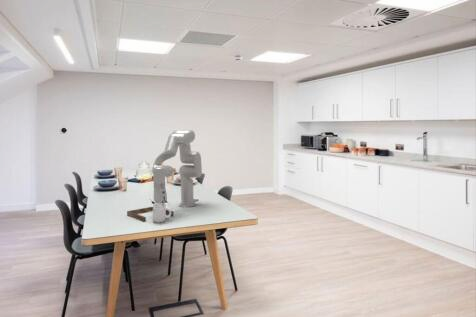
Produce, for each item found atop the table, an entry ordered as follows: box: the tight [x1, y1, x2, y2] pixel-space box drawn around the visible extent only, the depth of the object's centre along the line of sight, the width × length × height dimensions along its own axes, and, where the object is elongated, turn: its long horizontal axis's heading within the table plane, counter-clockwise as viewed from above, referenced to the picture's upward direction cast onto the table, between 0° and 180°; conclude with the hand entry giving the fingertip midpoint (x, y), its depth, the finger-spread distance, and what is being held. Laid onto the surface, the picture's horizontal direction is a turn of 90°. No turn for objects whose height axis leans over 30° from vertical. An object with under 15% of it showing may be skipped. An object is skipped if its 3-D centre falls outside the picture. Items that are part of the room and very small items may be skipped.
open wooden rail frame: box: [126, 206, 174, 223], centre depth 254 cm, size 22×24×3 cm
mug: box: [151, 203, 172, 223], centre depth 237 cm, size 12×8×10 cm
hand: (160, 212), depth 243 cm, fingers closed
